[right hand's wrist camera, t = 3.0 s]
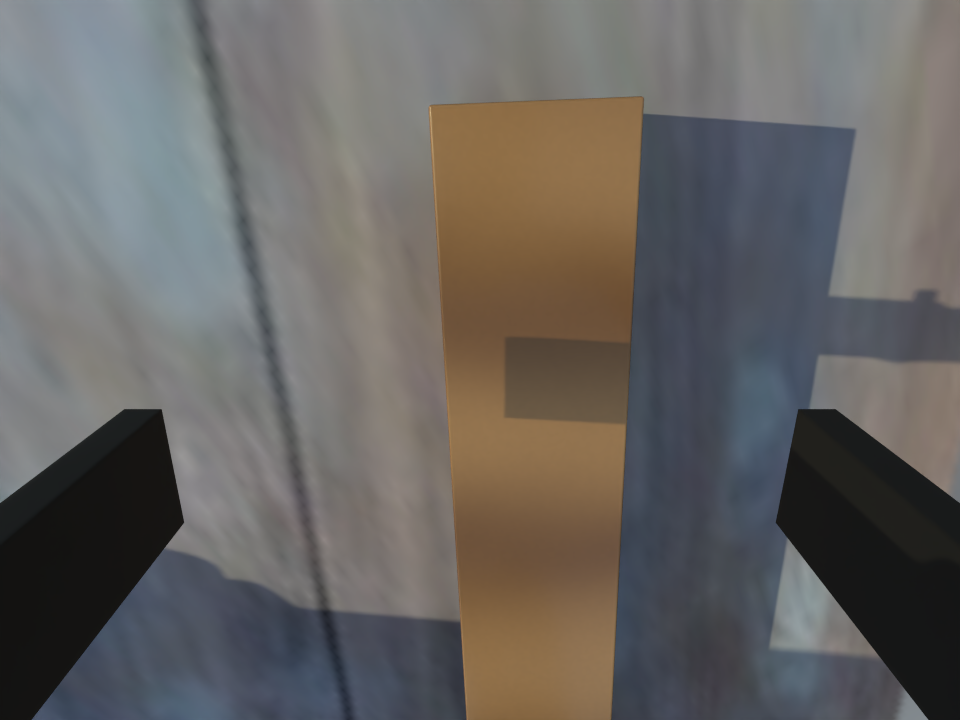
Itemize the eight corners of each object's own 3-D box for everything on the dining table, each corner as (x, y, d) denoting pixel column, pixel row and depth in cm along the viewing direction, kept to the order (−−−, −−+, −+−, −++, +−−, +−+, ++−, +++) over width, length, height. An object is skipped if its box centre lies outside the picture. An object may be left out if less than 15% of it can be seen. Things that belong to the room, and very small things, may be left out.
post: (445, 115, 24) (428, 105, 16) (590, 109, 24) (645, 95, 16) (487, 904, 41) (489, 1085, 33) (571, 901, 41) (592, 1083, 33)
